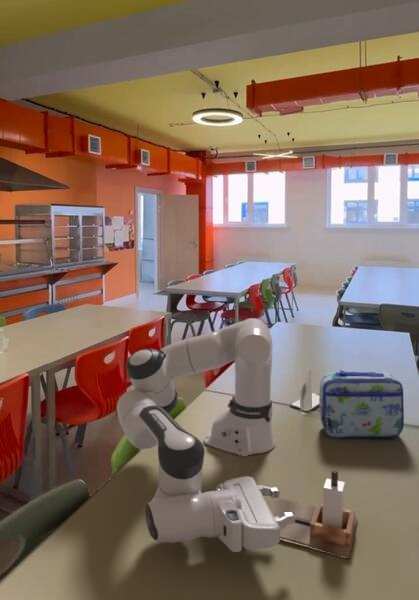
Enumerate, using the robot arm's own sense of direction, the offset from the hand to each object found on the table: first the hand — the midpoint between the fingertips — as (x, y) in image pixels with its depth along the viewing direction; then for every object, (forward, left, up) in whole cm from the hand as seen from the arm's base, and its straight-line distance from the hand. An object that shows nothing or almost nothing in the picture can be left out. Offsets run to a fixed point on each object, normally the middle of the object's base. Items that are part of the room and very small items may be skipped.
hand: (285, 504), depth 102 cm
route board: (+4, +7, -9) cm, 12 cm away
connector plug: (+9, +7, -8) cm, 14 cm away
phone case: (-11, +80, -10) cm, 81 cm away
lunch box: (+9, +61, -9) cm, 62 cm away
